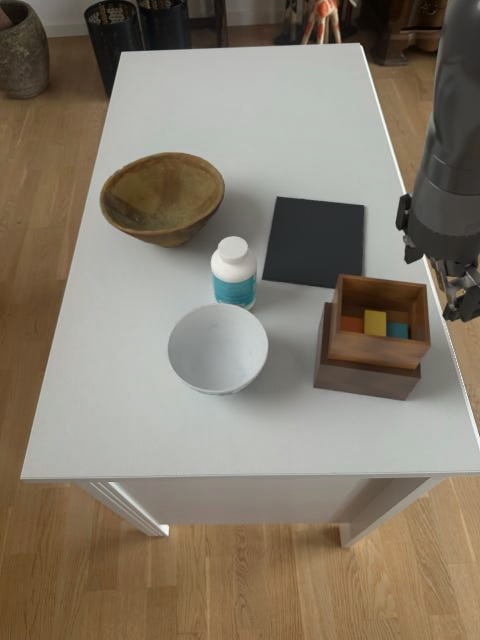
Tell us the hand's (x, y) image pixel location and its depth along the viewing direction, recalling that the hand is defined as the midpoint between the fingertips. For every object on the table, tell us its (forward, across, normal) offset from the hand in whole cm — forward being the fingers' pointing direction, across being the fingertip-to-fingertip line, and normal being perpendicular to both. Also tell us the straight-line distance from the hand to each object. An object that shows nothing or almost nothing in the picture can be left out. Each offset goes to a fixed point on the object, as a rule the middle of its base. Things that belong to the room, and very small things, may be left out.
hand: (431, 286), depth 53 cm
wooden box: (+12, +2, +7) cm, 14 cm away
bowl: (+17, +41, +30) cm, 54 cm away
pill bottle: (+18, +20, +23) cm, 36 cm away
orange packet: (+11, +3, +9) cm, 15 cm away
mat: (+23, +28, +5) cm, 36 cm away
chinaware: (+15, +8, +30) cm, 34 cm away
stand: (+20, +1, +9) cm, 22 cm away
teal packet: (+12, +1, +4) cm, 13 cm away
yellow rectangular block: (+11, +2, +6) cm, 13 cm away
